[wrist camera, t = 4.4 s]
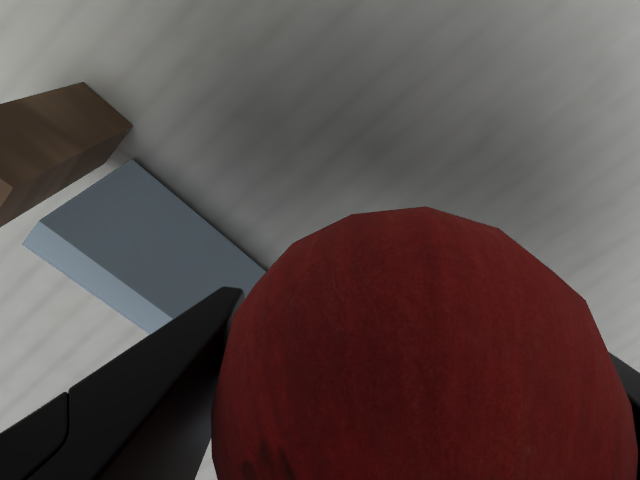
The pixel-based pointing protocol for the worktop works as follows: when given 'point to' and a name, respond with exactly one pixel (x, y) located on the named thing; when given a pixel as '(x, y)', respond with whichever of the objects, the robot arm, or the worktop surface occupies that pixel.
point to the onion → (417, 363)
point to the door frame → (53, 144)
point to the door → (140, 248)
